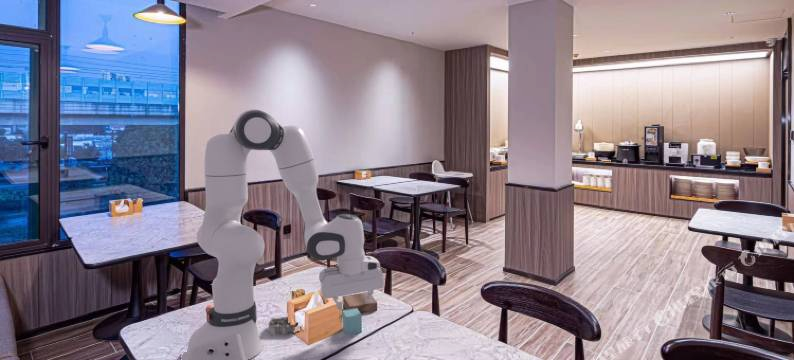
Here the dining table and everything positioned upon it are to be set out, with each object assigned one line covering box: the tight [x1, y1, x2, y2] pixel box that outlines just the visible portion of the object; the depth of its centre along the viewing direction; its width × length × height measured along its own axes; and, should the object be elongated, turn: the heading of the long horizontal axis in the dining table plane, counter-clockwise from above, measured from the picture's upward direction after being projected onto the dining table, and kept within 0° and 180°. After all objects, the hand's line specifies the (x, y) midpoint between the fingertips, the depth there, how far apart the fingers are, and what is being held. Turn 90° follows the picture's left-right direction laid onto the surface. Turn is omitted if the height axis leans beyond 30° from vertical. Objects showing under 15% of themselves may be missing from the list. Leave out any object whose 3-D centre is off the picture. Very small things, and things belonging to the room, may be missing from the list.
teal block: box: [341, 308, 363, 336], centre depth 141 cm, size 5×5×6 cm
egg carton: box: [267, 316, 296, 335], centre depth 143 cm, size 11×8×4 cm
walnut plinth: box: [342, 291, 378, 314], centre depth 159 cm, size 10×10×3 cm
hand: (353, 305), depth 141 cm, fingers open, 8 cm apart
